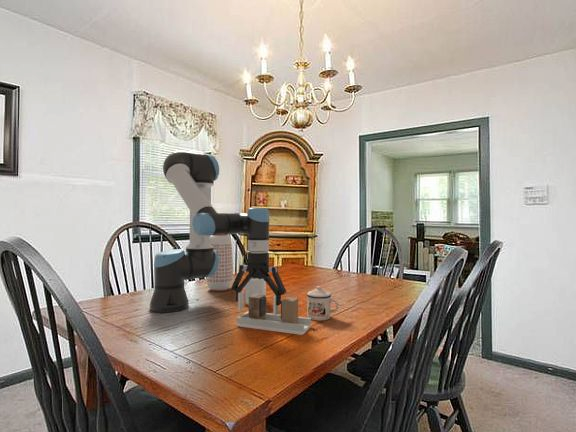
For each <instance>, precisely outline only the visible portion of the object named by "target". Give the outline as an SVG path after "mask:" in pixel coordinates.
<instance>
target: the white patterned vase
mask: <svg viewBox="0 0 576 432" xmlns="http://www.w3.org/2000/svg"><path fill="white" fill-rule="evenodd" d="M210 244H211V245H212V246H213V250H215V251H216V252H217V254H218V255H217V256H218V257H219V265H218V269H217V271H216V272H215V273H214V274H213V275H212V276H209V277H205V278H206V285H207V287H208V288H209V289H210V290H211V292H226V291H228V290H230V289H231V287H232V285H233V283H234V257H233V255H234V254H233V244H232V237H231V236H230V234H221V235H210Z"/></svg>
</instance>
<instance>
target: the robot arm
mask: <svg viewBox="0 0 576 432" xmlns="http://www.w3.org/2000/svg"><path fill="white" fill-rule="evenodd" d="M162 165H163V166H162V170H163V171H162V172H163V175H164V177H165V179H166V181H168V183H170V184H172V185H173V187H174V188H175V189H176V191H177V193H178V194H179V196H180V197H181V199H182V200H183V201H184V202H183V203H184V204H185V205H186V207H187V208H188V211H189V243H188V244H187V245H186V247H185V250H184V249H181V248H179V249H178V248H175V249H169V250H168V249H167V250H163V251H159V252H158V253H156V254H155V255H154V260H153V261H154V262H153V267H154V268H153V272H154V273H153V275H154V279H153V281H154V283H153V285H154V289H153V293H152V297H151V300H150V303H149V311H151V312H154V313H174V312H179V311H184V310H186V309H187V308H189V303H190V301H189V299H188V296H187V293H186V292H187V291H186V290H185V281H187V280H195V279H205V278H206V277H209V276H212V275H213V274H214V273H215V272H216V271H217V269H218V265H219V257H218V256H217V255H218V254H217V252H216V251H215V250H213V246H212V245H211V244H210V236H211V235H221V234H228V235H237V234H239V235H247V251H248V252H247V265H246V264H245V263H243V264H240V265H239V266H238V267H239V268H238V272H237V274H236V276H235V279H234V280H233V283H232V285H231V287H230V290H231V291H235V296H236V297H235V300H236V301H237V303H238V304H237V312H242V311H243V310H244V308H245V306H244V304H245V290H244V291H243V289H245V286H246V284H247V283H248V282H249V281H250V279H251V278H253V279H256V278H258V279H264V281H266V285H268V287H269V288H270V290H271V292H273V294H274V296H273V299H272V300H273V302H272V303H273V308H272V309H273V313H272V314H273V315H275V316H276V315H277V314H279V307H280V306H281V301H282V296H283V295H286V293H287V289H286V287H285V285H284V283H283V280H282V278H281V276H280V274H279V270H278V266H277V265H276V266H275V265H274V266H270V252H269V251H270V211H269V209H268V208H267V207H249V208H248V209H247V212H245V213H244V212H227V213H226V212H225V213H224V212H220V213H219V212H217V211H216V209H215V208H214V207H213V205H212V204H211V188H212V187H213V186H214V182H216V181H217V180H218V178H219V175H220V165H219V162H218V159H216V157H215V156H214V155H212V154H210V153H209V154H208V153H205V152H196V151H189V150H187V151H186V150H175V151H173V152H170V154H169V155H168V156H167V157H166V158H165V160H164V162H163V164H162ZM246 271H247V272H248V274H246V275H245V278H244V279H243V276H244V274H245V272H246ZM269 272H270V273H271V274H272V275H270V274H269ZM272 277H273V279H272ZM242 279H243V280H242ZM240 282H241V283H240Z"/></svg>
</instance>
